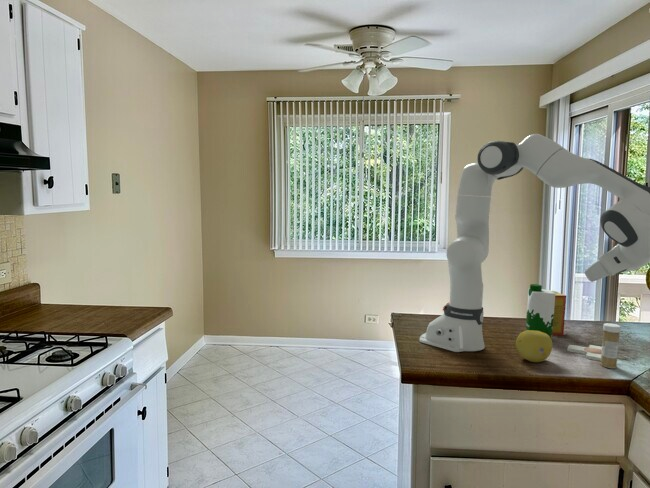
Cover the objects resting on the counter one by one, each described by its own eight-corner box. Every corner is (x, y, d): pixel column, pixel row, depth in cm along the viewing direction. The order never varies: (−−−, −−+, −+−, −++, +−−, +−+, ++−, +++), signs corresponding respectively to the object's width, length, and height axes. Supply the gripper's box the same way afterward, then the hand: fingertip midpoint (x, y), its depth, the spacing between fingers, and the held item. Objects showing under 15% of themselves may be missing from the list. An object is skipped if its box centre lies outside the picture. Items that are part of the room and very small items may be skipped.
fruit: (558, 364, 143) (560, 333, 142) (529, 367, 140) (532, 335, 139) (535, 353, 153) (537, 324, 152) (508, 355, 150) (510, 326, 149)
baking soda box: (563, 335, 175) (566, 294, 174) (546, 335, 175) (549, 294, 174) (550, 328, 185) (553, 289, 183) (534, 328, 185) (537, 289, 183)
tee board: (565, 354, 153) (565, 351, 153) (570, 344, 164) (570, 341, 164) (604, 361, 146) (604, 358, 146) (606, 350, 158) (606, 347, 158)
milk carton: (523, 332, 177) (526, 282, 175) (548, 334, 175) (551, 284, 174) (528, 339, 169) (532, 286, 167) (554, 341, 167) (558, 288, 165)
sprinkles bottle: (601, 362, 146) (605, 321, 144) (618, 366, 143) (622, 324, 141) (598, 366, 142) (602, 324, 141) (615, 370, 139) (619, 327, 138)
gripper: (651, 233, 135) (623, 253, 147) (596, 257, 131) (571, 275, 143) (666, 251, 132) (635, 269, 145) (609, 276, 128) (583, 292, 141)
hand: (603, 272), depth 144 cm, fingers open, 8 cm apart
